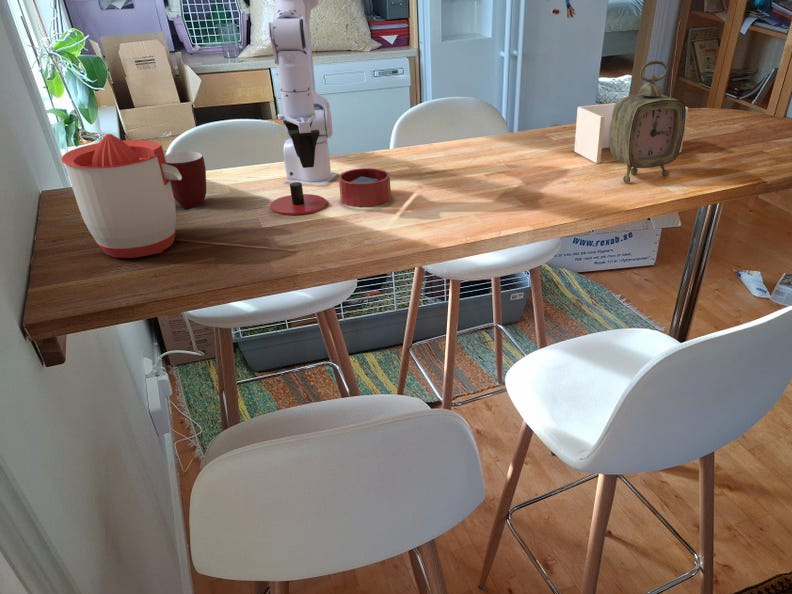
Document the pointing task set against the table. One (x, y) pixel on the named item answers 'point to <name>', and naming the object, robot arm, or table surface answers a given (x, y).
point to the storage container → (596, 130)
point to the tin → (365, 188)
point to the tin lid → (298, 202)
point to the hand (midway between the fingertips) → (305, 161)
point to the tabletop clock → (647, 127)
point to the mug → (188, 178)
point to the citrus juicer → (125, 195)
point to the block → (364, 180)
